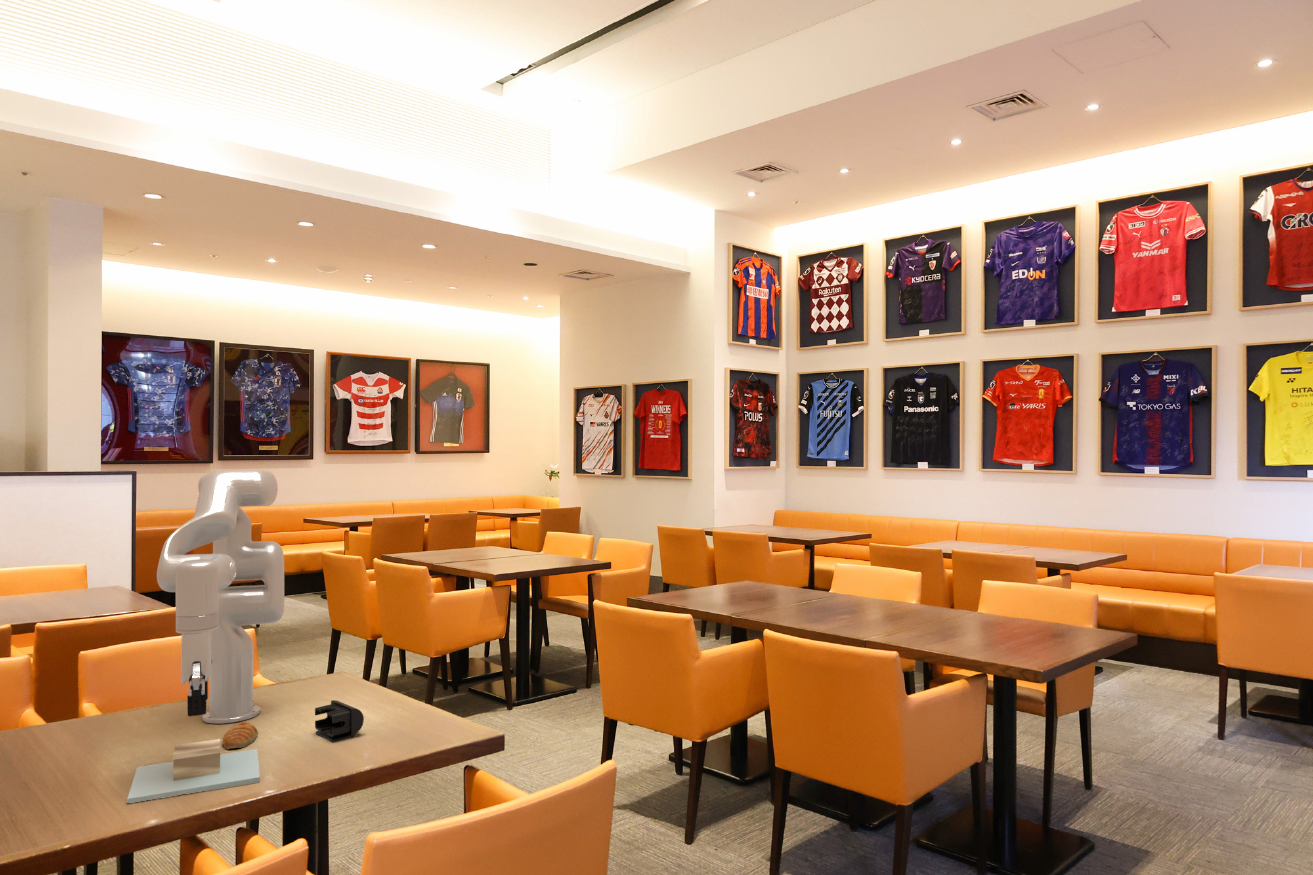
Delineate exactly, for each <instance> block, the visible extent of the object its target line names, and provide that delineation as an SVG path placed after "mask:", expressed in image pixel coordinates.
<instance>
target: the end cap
mask: <svg viewBox="0 0 1313 875" xmlns="http://www.w3.org/2000/svg"><path fill="white" fill-rule="evenodd" d="M324 714H326V717H325V718H321V719H318V720H317V719H316V720H314V729H315V730H316V731H315V735H316V736H318V737H320V738H323V739H324V740H327V741H329V742H330V743H337V742H341V741H345V740H349V739H352V738H353V737H354V736H356V734H357V733H359V731H361V729H362V727H363V725H364V723H365V722H364V720H365V718H364V717H365V716H364V714H363V712H362V710H360V709H358V708H356V707H355V706H351V705H349V704H346V703H344V702H342V701H339V700H337V699H336V700H333V699H332V700H331V701H330V704H327V705H323V706H317V707H315V709H314V715H315V716H320V715H324Z"/></svg>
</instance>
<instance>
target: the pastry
mask: <svg viewBox="0 0 1313 875" xmlns="http://www.w3.org/2000/svg"><path fill="white" fill-rule="evenodd" d="M258 734H259V730H258V729H257V728H256V726H255V725H254V724H253V723H252V722H250V721H249V722H248V721H240V722H239V723H238V722H237V723H234V724H233V726H231V727H230V728H229V729H228V730H226V732H225V734H224V735H223V737H222V743H223V748H224V749H226V750H230V749H236V748H237V749H238V748H239V749H240V748H245V747H246V746H248V745H251V744H252V743H253V742H254V741H256V738H257V737H258Z"/></svg>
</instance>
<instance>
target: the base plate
mask: <svg viewBox="0 0 1313 875" xmlns="http://www.w3.org/2000/svg"><path fill="white" fill-rule="evenodd" d="M258 752H259V751H258V748H254V749H248V750H242V751H241V750H240V751H235V752H228V753H222V754H221V753H220V773H218V774H212V775H205V776H199V777H193V778H187V779H180V780H174V781H173V761H168V762H161V763H154V764H149V765H142V766H137V767H136V770H135V773H134V777H133V779H132V783H131V785H130V789H129V792H128V796H127V798H126V804H127V803H133V804H136V803H135V802H139V803H141V802H140V801H145V802H147V801H146V800H151V799H157V798H162V797H169V796H175V797H177V796H176V795H180V794H187V795H190V793H193V794H196V793H195V792H199V793H203V792H202V791H205V792H210V791H209V790H211V791H215V790H216V791H217V790H221V789H222V790H223V789H227V788H233V787H234V788H235V787H239V786H247V785H251V784H258V783H260V782H261V776H260V765H259V753H258ZM169 798H170V797H169ZM157 800H158V799H157ZM151 801H152V800H151Z"/></svg>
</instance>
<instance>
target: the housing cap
mask: <svg viewBox="0 0 1313 875" xmlns="http://www.w3.org/2000/svg"><path fill="white" fill-rule="evenodd" d="M220 754H221V738H217V739H216V738H215V739H210V740H203V741H196V742H188V743H187V742H186V743H182V744H175V746H174V749H173V754H172V755H173V758H172V759H173V760H172V762H173V781H174V780H180V779H187V778H193V777H199V776H205V775H212V774H218V773H220Z"/></svg>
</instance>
